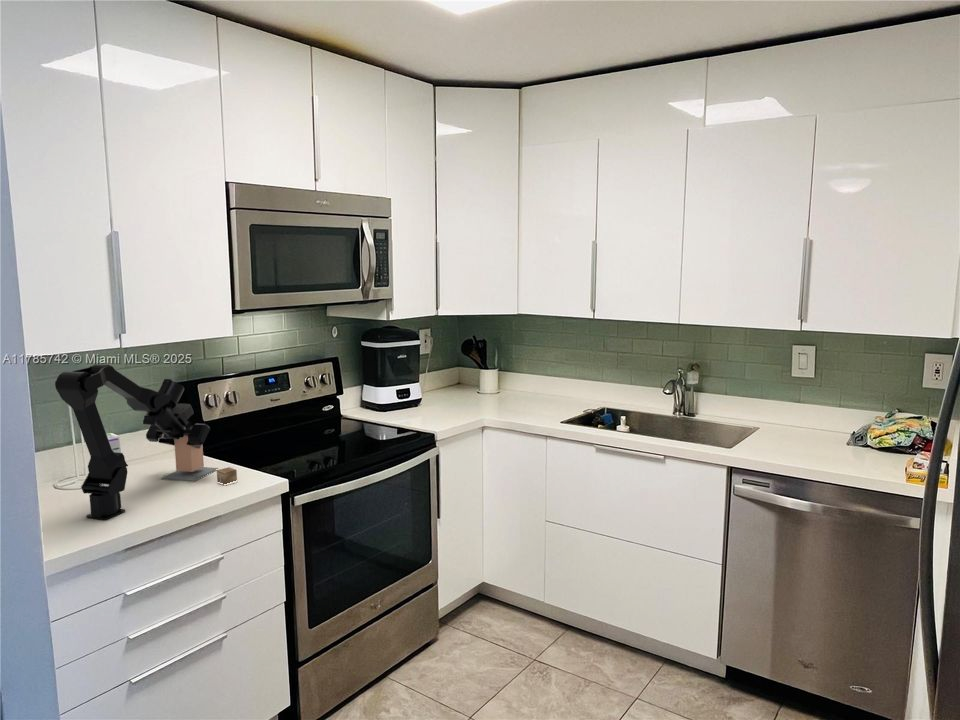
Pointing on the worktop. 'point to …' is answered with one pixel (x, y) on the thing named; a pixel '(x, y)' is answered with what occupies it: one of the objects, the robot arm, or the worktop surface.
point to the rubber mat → (189, 474)
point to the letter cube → (226, 475)
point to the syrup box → (113, 445)
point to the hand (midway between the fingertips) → (191, 446)
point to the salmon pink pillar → (187, 455)
